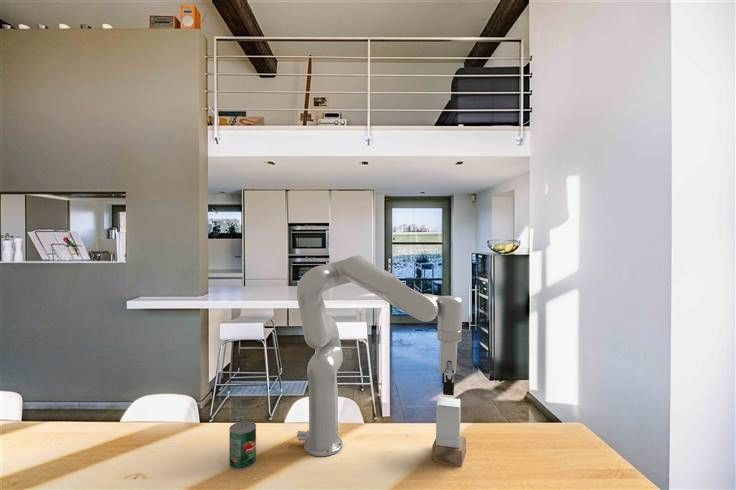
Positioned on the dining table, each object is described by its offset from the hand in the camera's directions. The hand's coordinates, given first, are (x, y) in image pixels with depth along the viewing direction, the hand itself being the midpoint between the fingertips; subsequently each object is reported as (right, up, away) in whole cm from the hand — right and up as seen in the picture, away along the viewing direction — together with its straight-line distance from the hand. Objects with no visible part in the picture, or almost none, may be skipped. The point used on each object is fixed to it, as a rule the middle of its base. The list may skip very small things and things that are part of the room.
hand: (447, 389), depth 125 cm
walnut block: (+1, -22, 0) cm, 22 cm away
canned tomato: (-64, -21, -4) cm, 68 cm away
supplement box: (0, -17, 0) cm, 17 cm away
